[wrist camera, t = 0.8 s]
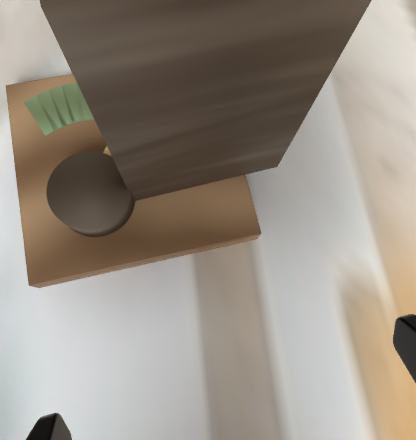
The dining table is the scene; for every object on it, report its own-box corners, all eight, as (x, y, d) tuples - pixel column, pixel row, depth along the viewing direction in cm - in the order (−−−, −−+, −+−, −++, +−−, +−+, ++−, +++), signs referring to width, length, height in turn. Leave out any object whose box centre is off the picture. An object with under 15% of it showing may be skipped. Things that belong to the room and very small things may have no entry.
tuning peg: (285, 190, 23) (430, -8, 9) (66, 245, 21) (-159, 107, 8) (241, 61, 25) (303, -255, 11) (40, 103, 23) (-171, -203, 10)
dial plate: (256, 238, 24) (261, 233, 22) (39, 287, 22) (28, 285, 21) (209, 65, 27) (210, 50, 25) (16, 98, 25) (5, 84, 24)
